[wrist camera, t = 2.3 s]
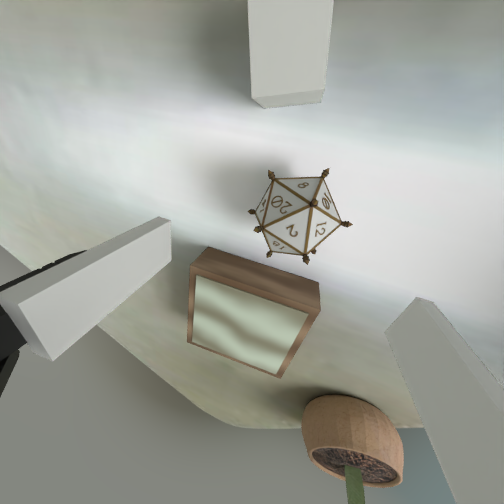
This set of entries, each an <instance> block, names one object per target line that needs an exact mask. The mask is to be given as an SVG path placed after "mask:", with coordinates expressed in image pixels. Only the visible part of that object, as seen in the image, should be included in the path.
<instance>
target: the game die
mask: <svg viewBox="0 0 504 504" xmlns="http://www.w3.org/2000/svg"><path fill="white" fill-rule="evenodd" d="M328 174H329V168H328V169H326V170H323V173H322V175H321V177H298V178H275V175H274V172H271V171H270V170H268V176H269V179H271V180H272V182H271V184H270V186H269V187H268V189H267V191H266V193H265V195H264V197H263V198H262V200H261V202H260V204H259V206H258V207H257V209H256V211H255V210H254V209H253V210H252V209H251V210H249V211H248V212H249V213H250V214H255V215H256V217H257V220H258V222H259V225H260V226H257V227H255V229H254V231H255V232H257V233H259V232H261V230H262V232H263V235H264V237H265V239H266V242H267V244H268V247H269V249H270V251H268V253H267V258H268V257H271V255H272V252H277V253H285V254H293V255H301V256H303V258H302V259H303V262H305V263H306V264H307V265H308V262H309V261H310V260H309V256H307V255H308V254H309V253H310V252H311V253H312V254H315V253H316V250H315V248H316V247H317V246H318V245H319V244H320V243H321V242H322V241H324V240H325V239H326V238H327V237H328V236H329V235H330V234H331V233H333V232H334V231H335V230H336V229H337V228H338V227H339V226H341V225H342V226H344V227H349V226H351V225H353V224H351V223H350V222H349V221H348V222H346V221H344V222H342V221H341V219H340V216H339V214H338V212H337V209H336V207H335V204H334V202H333V199H332V197H331V195H330V192H329V190H328V187H327V185H326V183H325V180H324V178H325V177H327V175H328Z"/></svg>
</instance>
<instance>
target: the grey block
mask: <svg viewBox="0 0 504 504" xmlns="http://www.w3.org/2000/svg"><path fill="white" fill-rule="evenodd" d="M333 3H334V0H248V22H249V46H250V71H251V96H252V99H253V100H255V101H256V102H257V103H258V104H260V105H261V106H262V107H264V108H265V109H266V108H275V107H285V106H294V105H304V104H313V103H321V101H322V97H323V94H324V90H325V81H326V72H327V62H328V52H329V42H330V33H331V23H332V13H333Z"/></svg>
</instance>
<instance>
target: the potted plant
mask: <svg viewBox="0 0 504 504" xmlns="http://www.w3.org/2000/svg"><path fill="white" fill-rule="evenodd" d="M301 428H302V434H303V438H304V442H305V445H306V448H307V452H308V456H309V458H310V460H311V461H312V462H313V463H314V464H315V465H316V466H317V467H318V468H320V469H321V470H323V471H324V472H327V473H328V474H330V475H332V476H334V477H337V478H339V479H342V480H345V481H346V488H347V497H348V504H365V497H364V488H363V486H370V487H380V488H385V487H393V486H396V485H399V484H400V483H401V482H402V471H403V461H404V459H403V445H402V442H401V438H400V436H399V434H398V432H397V431H396V429H395V427H394V426H393V424H392V423H391V421H390V420H389V418H388V417H387V416H386V415H385V414H384V413H383V412H381V411H380V410H379V409H378V408H376V407H374V406H373V405H371V404H369V403H367V402H365V401H362V400H360V399H357V398H353V397H349V396H344V395H325V396H320V397H318V398H315V399H314V400H312V401H310V402H309V403H308V405H307V406H306V408H305V410H304V412H303V416H302V427H301Z"/></svg>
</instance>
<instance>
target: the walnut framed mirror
mask: <svg viewBox="0 0 504 504" xmlns="http://www.w3.org/2000/svg"><path fill="white" fill-rule="evenodd" d="M320 310H321V307H320V292H319V283H318V282H315V281H312V280H309V279H306V278H303V277H300V276H297V275H294V274H291V273H288V272H285V271H281V270H278V269H275V268H272V267H269V266H266V265H263V264H260V263H257V262H254V261H251V260H248V259H245V258H242V257H239V256H235V255H232V254H229V253H226V252H223V251H220V250H217V249H214V248H211V247H208V248H207V249H206V250H205V251H204V252H203V253H202V254H201V255H200V256H199V257H198V258H197V259H196V260H195V261H194V262H193V263H192V264H191V265H190V279H189V304H188V329H187V342H188V343H191V344H193V345H196V346H198V347H201V348H203V349H206V350H209V351H211V352H214V353H216V354H219V355H221V356H224V357H226V358H229V359H231V360H234V361H237V362H239V363H242V364H244V365H247V366H249V367H252V368H254V369H257V370H259V371H262V372H265V373H267V374H270V375H272V376H275V377H277V378H280V379H281V377H282V375H283V374H284V372H285V370H286V369H287V367H288V365H289V363H290V362H291V360H292V358H293V357H294V355H295V353H296V351H297V350H298V348H299V346H300V345H301V343H302V341H303V339H304V338H305V336H306V334H307V333H308V331H309V329H310V328H311V326H312V324H313V322H314V321H315V319H316V317H317V316H318V314H319V312H320Z"/></svg>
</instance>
